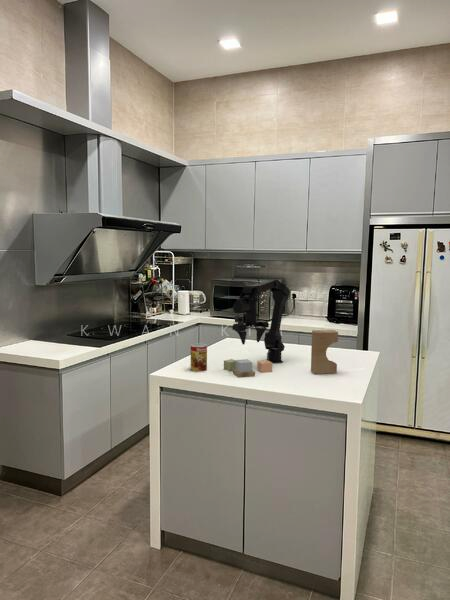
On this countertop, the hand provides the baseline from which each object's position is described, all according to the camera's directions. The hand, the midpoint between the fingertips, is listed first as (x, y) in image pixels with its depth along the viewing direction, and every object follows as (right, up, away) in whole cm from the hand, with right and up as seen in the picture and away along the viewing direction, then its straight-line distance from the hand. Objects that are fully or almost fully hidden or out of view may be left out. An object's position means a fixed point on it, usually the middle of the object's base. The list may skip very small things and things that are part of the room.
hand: (250, 343), depth 214 cm
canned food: (-25, -13, -2) cm, 28 cm away
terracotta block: (+7, -13, -2) cm, 15 cm away
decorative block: (+34, -14, -4) cm, 37 cm away
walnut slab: (-4, -14, -10) cm, 17 cm away
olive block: (-10, -13, -1) cm, 16 cm away
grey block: (-4, -12, -10) cm, 16 cm away
